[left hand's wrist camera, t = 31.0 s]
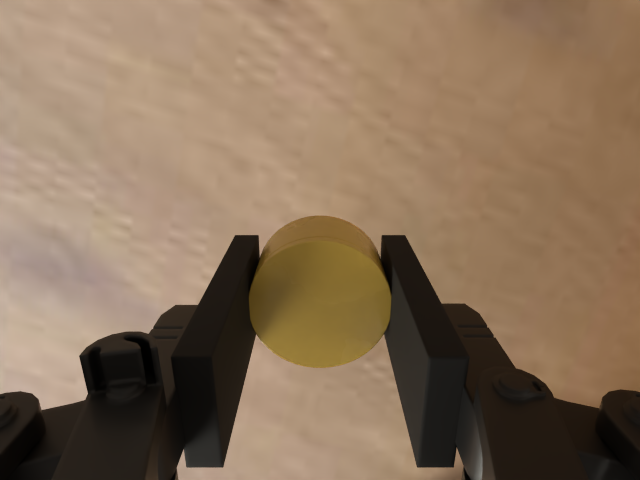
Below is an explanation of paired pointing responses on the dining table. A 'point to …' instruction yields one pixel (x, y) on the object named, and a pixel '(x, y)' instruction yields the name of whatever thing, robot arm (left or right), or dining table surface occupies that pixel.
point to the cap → (320, 293)
